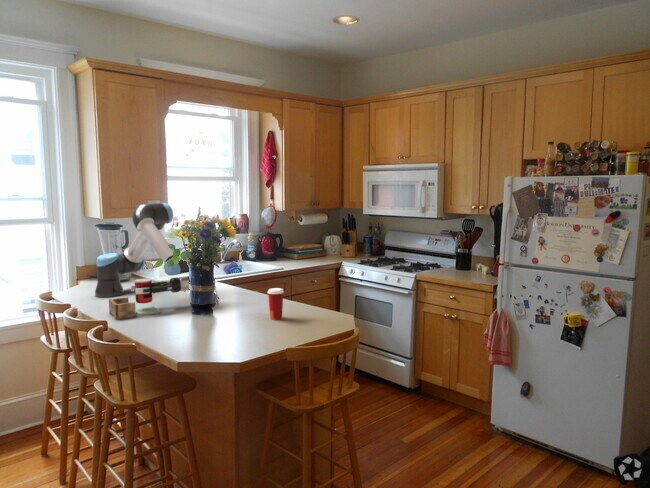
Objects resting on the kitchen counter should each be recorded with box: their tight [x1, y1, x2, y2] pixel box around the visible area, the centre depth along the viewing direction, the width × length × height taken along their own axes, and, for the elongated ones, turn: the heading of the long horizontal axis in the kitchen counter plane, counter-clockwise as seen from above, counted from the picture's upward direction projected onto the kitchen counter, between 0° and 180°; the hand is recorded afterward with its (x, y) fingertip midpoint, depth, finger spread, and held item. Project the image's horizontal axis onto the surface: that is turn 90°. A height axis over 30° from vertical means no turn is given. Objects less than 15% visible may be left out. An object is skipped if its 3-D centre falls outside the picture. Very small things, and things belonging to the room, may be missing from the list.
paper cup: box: [267, 287, 285, 321], centre depth 235 cm, size 8×8×14 cm
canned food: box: [134, 278, 153, 304], centre depth 247 cm, size 8×8×11 cm
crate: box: [108, 296, 161, 320], centre depth 245 cm, size 20×14×7 cm
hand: (133, 290), depth 244 cm, fingers closed on canned food, 8 cm apart
